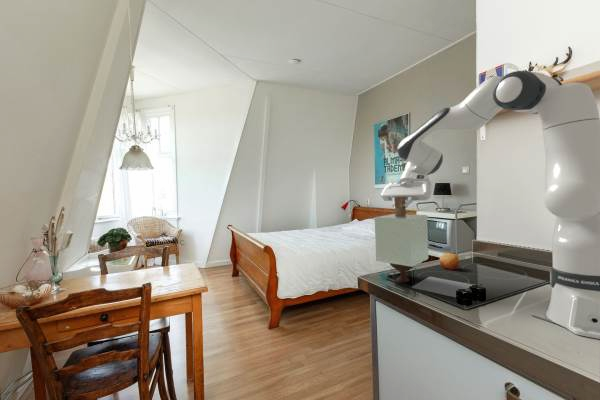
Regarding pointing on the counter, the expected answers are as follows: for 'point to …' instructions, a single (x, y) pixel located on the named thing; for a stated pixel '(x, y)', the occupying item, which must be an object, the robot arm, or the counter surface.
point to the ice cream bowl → (401, 271)
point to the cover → (401, 237)
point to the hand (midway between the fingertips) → (399, 206)
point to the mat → (441, 286)
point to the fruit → (449, 261)
